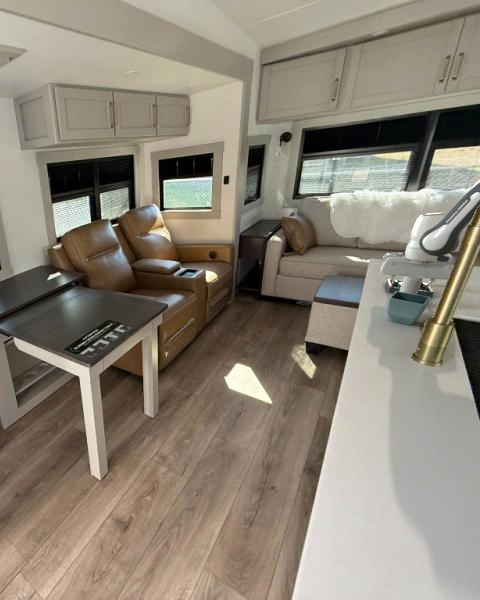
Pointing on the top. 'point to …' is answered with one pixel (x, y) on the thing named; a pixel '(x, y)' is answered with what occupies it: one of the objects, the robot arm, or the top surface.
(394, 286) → the tray
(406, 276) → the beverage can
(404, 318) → the flower pot
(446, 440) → the top surface
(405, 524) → the top surface
